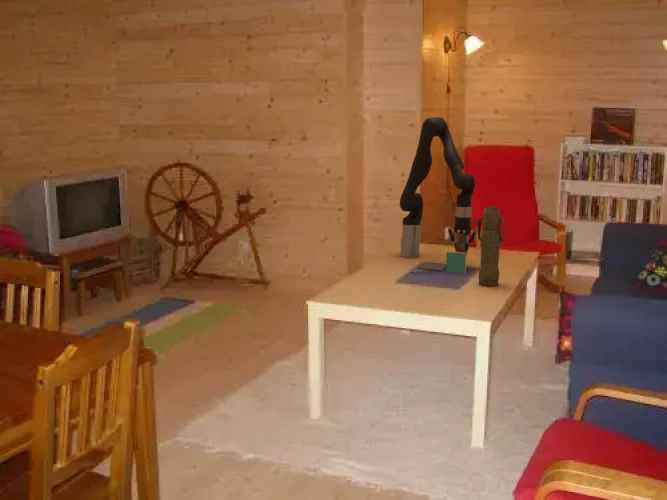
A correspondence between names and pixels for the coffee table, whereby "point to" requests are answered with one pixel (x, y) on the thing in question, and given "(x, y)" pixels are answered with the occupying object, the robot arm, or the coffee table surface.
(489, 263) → the olive canister
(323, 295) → the coffee table surface
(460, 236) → the tall wooden block
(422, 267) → the rest mat
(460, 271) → the tile
